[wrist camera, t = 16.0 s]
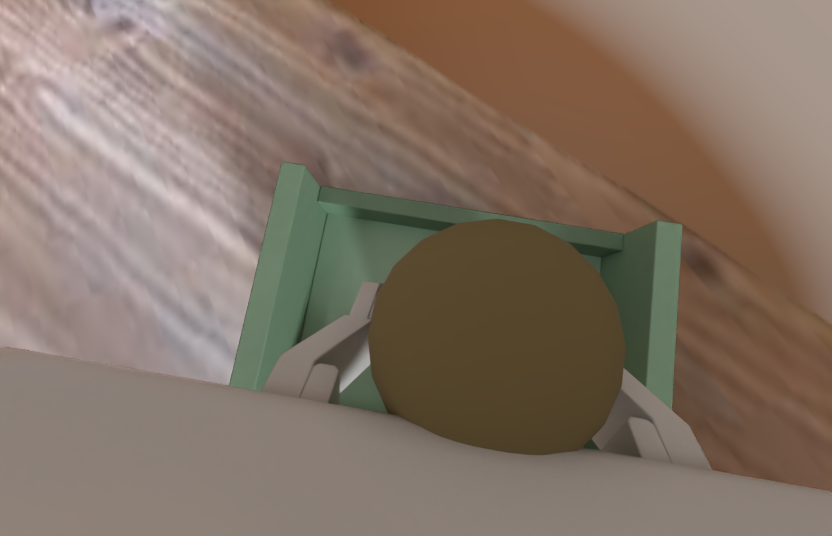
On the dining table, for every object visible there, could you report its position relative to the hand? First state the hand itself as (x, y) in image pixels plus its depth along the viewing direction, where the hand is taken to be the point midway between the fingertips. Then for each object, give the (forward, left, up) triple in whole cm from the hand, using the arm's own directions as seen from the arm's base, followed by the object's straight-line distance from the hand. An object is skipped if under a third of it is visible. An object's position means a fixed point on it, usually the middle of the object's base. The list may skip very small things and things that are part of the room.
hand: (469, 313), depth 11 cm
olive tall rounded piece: (0, -1, -6) cm, 6 cm away
